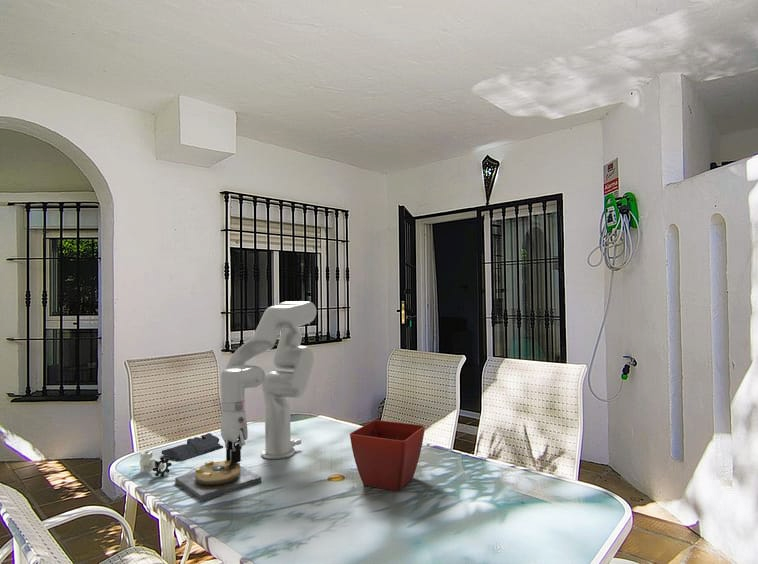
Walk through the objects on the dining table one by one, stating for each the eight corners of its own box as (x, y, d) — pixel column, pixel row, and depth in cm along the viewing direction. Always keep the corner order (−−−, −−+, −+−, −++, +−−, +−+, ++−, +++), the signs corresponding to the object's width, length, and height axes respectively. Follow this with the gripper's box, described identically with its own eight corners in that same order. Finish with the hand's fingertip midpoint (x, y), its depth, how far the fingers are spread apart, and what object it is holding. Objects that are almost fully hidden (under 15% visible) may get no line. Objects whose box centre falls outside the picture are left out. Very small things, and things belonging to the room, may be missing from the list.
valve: (134, 473, 168) (153, 480, 161) (133, 454, 168) (153, 460, 161) (151, 467, 173) (171, 473, 167) (151, 448, 173) (171, 454, 167)
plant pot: (426, 475, 161) (425, 424, 161) (405, 498, 144) (404, 441, 144) (375, 467, 169) (374, 419, 169) (349, 488, 152) (348, 434, 152)
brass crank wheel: (207, 488, 148) (207, 463, 148) (188, 476, 158) (187, 453, 158) (248, 475, 158) (248, 452, 158) (227, 465, 168) (227, 443, 168)
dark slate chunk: (155, 456, 186) (155, 444, 186) (203, 441, 204) (203, 430, 204) (179, 464, 177) (179, 451, 177) (228, 447, 196) (227, 435, 196)
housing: (232, 467, 172) (232, 459, 172) (261, 482, 158) (261, 473, 158) (175, 483, 158) (175, 474, 158) (201, 501, 144) (201, 492, 144)
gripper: (256, 407, 159) (256, 463, 159) (230, 400, 170) (231, 453, 170) (235, 411, 154) (236, 470, 154) (210, 404, 165) (211, 458, 165)
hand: (233, 460), depth 162 cm, fingers closed on brass crank wheel, 2 cm apart
